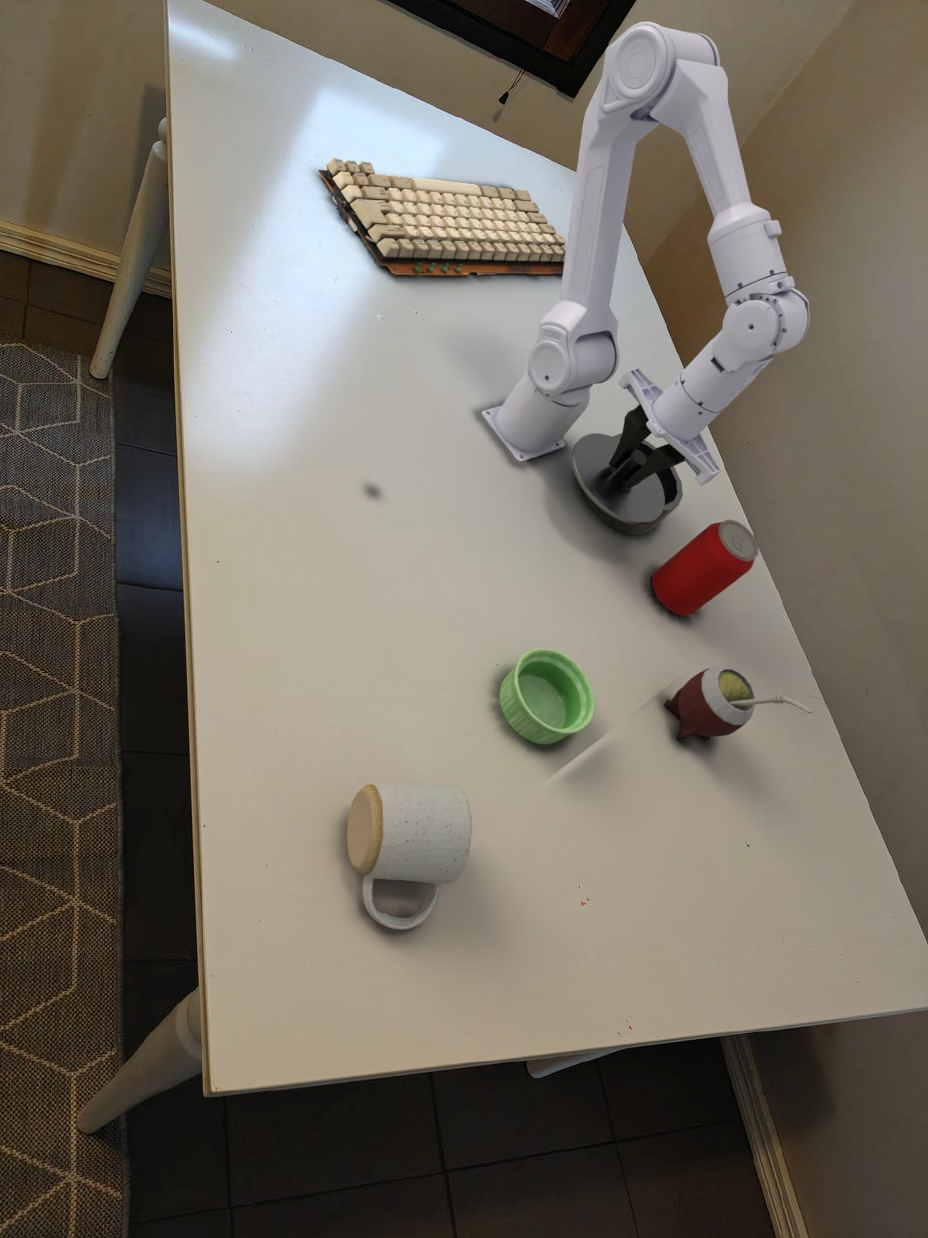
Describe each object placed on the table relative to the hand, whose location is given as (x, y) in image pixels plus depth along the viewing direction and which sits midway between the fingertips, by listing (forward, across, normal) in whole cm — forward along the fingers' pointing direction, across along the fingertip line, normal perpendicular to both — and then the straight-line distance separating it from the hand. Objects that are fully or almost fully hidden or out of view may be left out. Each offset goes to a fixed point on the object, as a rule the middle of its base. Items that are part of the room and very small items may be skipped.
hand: (622, 473), depth 97 cm
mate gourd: (+9, +27, -7) cm, 29 cm away
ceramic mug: (+9, +20, -46) cm, 51 cm away
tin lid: (+1, 0, 0) cm, 1 cm away
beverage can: (+9, +14, +4) cm, 17 cm away
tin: (+8, 0, +8) cm, 12 cm away
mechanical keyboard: (+9, -47, +17) cm, 51 cm away
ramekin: (+9, +16, -24) cm, 30 cm away
